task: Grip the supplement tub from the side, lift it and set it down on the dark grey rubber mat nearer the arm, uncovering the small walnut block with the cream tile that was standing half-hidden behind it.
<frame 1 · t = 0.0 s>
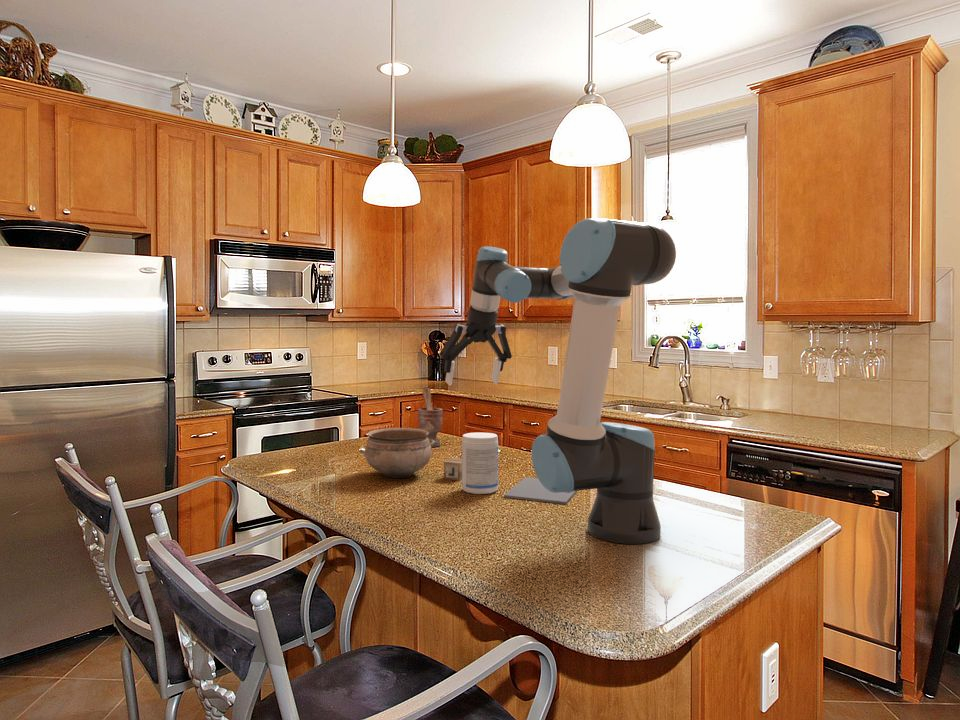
hand: (471, 382, 175), 28 cm above the countertop, tool tilted 20°, fingers open, 13 cm apart
lettered block: (455, 478, 184), on the countertop
grey mat: (544, 490, 171), on the countertop
cooking pot: (398, 476, 186), on the countertop
supplement tub: (479, 491, 171), on the countertop
mortar and pestle: (427, 445, 231), on the countertop
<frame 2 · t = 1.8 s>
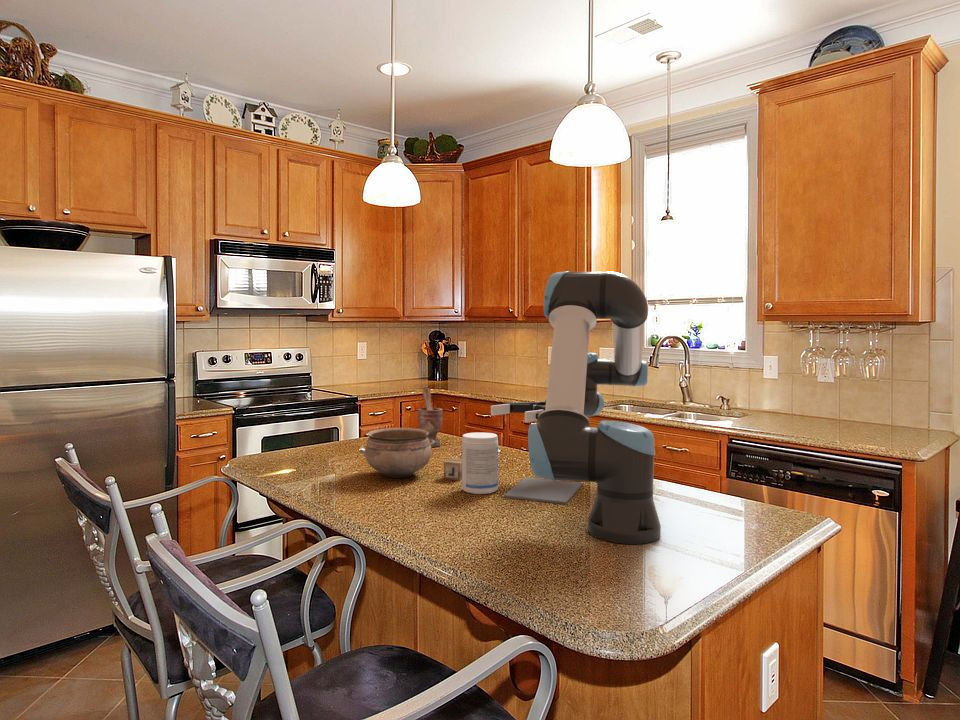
hand: (508, 413, 176), 19 cm above the countertop, tool horizontal, fingers open, 13 cm apart
nothing on the countertop moved.
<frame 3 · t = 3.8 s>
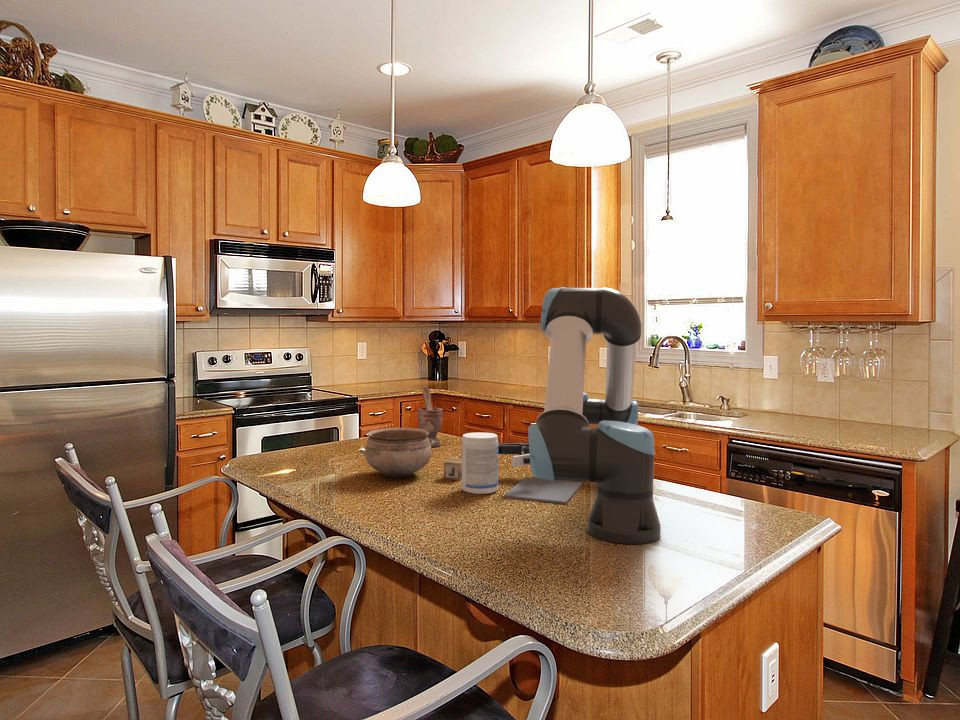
hand: (495, 457, 174), 8 cm above the countertop, tool horizontal, fingers open, 13 cm apart
nothing on the countertop moved.
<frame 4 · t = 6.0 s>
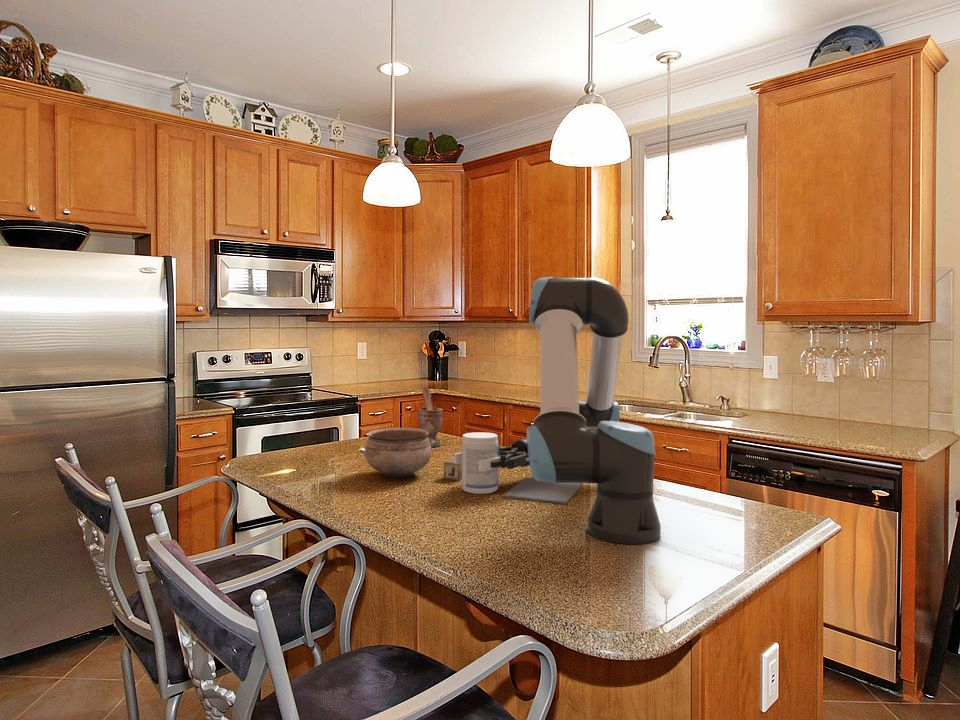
hand: (467, 462, 167), 8 cm above the countertop, tool horizontal, fingers closed on supplement tub, 9 cm apart
supplement tub: (479, 490, 171), on the countertop, touching gripper
everything else where it was.
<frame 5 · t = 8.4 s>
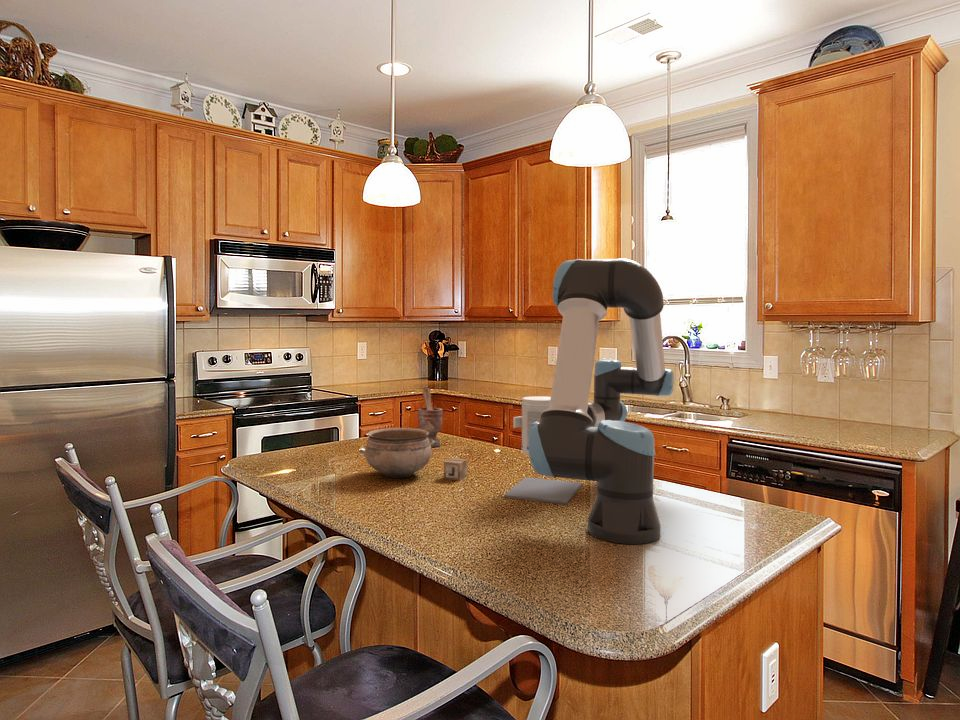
hand: (528, 425, 167), 18 cm above the countertop, tool horizontal, fingers closed on supplement tub, 9 cm apart
supplement tub: (539, 454, 170), point 10 cm above the countertop, touching gripper
everything else where it was.
when the fingers open (9 cm above the countertop, at t = 10.7 s): supplement tub stays where it is, resting on grey mat.
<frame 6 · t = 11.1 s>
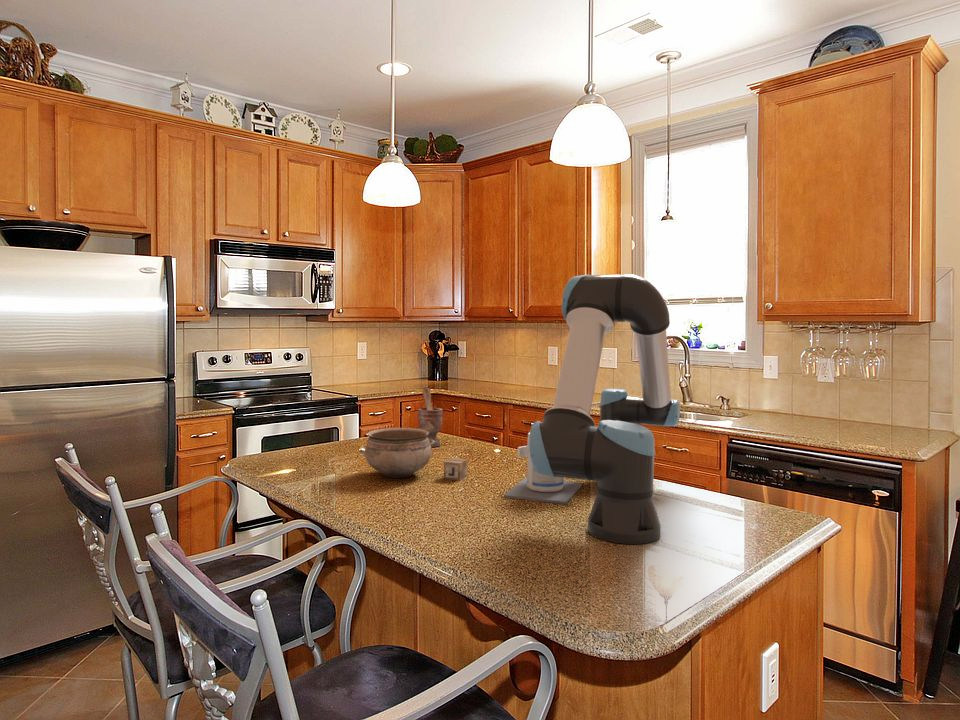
hand: (536, 456, 168), 9 cm above the countertop, tool horizontal, fingers open, 13 cm apart
supplement tub: (544, 489, 171), resting on grey mat
everything else where it was.
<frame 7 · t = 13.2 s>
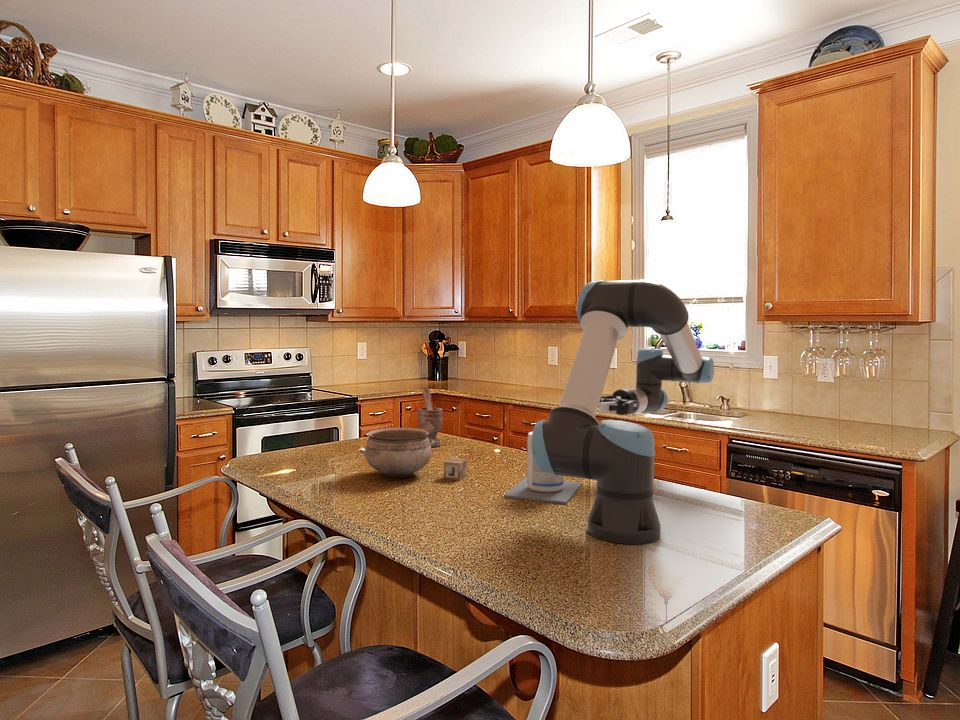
hand: (580, 405, 176), 22 cm above the countertop, tool horizontal, fingers open, 13 cm apart
nothing on the countertop moved.
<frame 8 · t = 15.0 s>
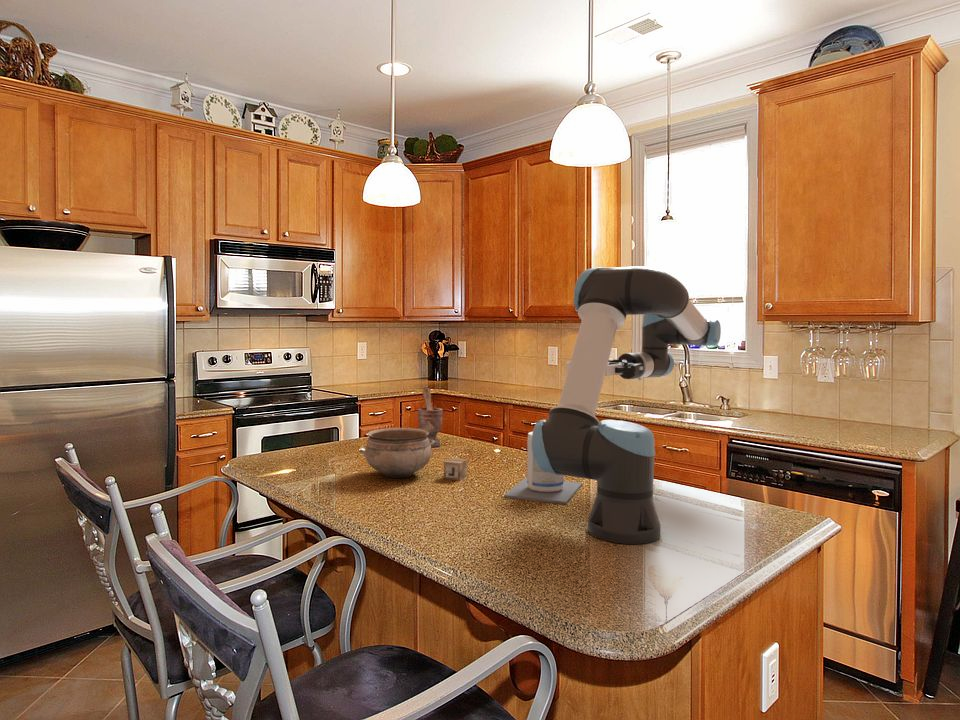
hand: (585, 368, 175), 32 cm above the countertop, tool horizontal, fingers open, 13 cm apart
nothing on the countertop moved.
at the end: supplement tub inside the target area on the grey mat (0.1 cm from its centre), point 0.4 cm above the grey mat's base; supplement tub tilted 0°; lettered block moved 0.1 cm from its start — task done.
